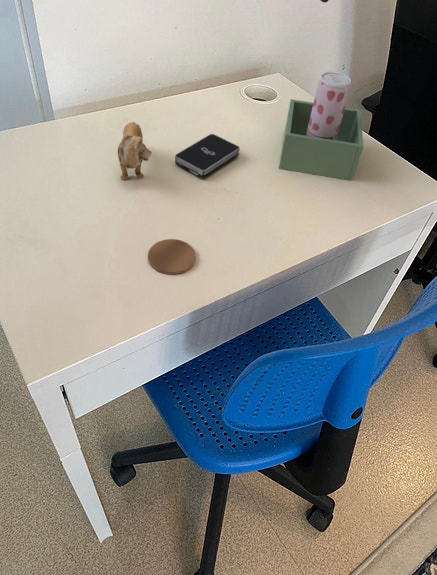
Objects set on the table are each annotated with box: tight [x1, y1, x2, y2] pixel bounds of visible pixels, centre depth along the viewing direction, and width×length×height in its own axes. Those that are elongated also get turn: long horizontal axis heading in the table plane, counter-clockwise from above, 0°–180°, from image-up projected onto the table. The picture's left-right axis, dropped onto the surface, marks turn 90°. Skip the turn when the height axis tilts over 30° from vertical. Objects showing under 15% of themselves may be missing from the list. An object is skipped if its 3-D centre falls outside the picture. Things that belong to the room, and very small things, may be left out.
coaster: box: [147, 238, 197, 276], centre depth 73 cm, size 7×7×1 cm
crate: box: [278, 98, 364, 181], centre depth 93 cm, size 14×14×7 cm
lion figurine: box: [117, 121, 153, 181], centre depth 85 cm, size 15×5×9 cm, turn 13°
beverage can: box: [306, 71, 352, 140], centre depth 90 cm, size 6×6×15 cm
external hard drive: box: [174, 133, 240, 179], centre depth 91 cm, size 7×11×2 cm, turn 142°
